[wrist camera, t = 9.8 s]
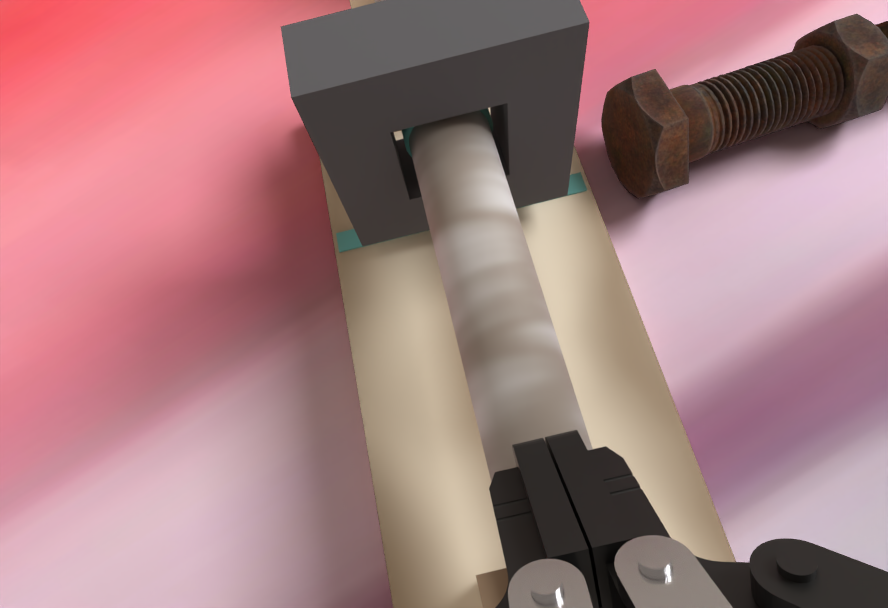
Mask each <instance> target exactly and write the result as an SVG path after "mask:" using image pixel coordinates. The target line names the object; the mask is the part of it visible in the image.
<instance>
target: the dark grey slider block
mask: <svg viewBox="0 0 888 608" xmlns="http://www.w3.org/2000/svg"><path fill="white" fill-rule="evenodd" d="M588 29H589V20H588V18H587V16H586V13H585V11H584V9H583V7H582V5H581V2H580V0H384V1H380V2H376V3H372V4H368V5H364V6H360V7H356V8H352V9H348V10H344V11H340V12H336V13H333V14H329V15H325V16H321V17H317V18H313V19H309V20H305V21H301V22H297V23H293V24H289V25H285V26H282V27H281V31H282V37H283V44H284V51H285V58H286V65H287V72H288V78H289V85H290V92H291V98H292V100H293V102H294V104H295V106H296V108H297V110H298V113H299V115H300V117H301V119H302V121H303V123H304V125H305V127H306V129H307V131H308V133H309V136H310V138H311V140H312V142H313V144H314V146H315V148H316V150H317V152H318V154H319V156H320V159H321V161H322V163H323V165H324V167H325V169H326V171H327V173H328V175H329V177H330V179H331V182H332V184H333V186H334V188H335V190H336V192H337V194H338V196H339V198H340V200H341V202H342V204H343V207H344V209H345V211H346V213H347V215H348V217H349V219H350V221H351V223H352V225H353V227H354V230H355V232H356V234H357V236H358V238H359V240H360V242H361V244H362V246H367V245H371V244H375V243H379V242H383V241H387V240H391V239H395V238H399V237H403V236H407V235H411V234H415V233H419V232H423V231H427V230H430V228H429V224H428V220H427V216H426V212H425V208H424V204H423V200H422V195H421V191H420V187H419V183H418V179H417V175H416V171H415V167H414V163H413V159H412V157H411V156H410V155H409V153H408V152H407V150H406V147H405V143H404V139H400V140H396V139H395V135H394V131H398V130H402V129H406V128H410V127H414V126H418V125H422V124H426V123H430V122H434V121H438V120H442V119H446V118H450V117H454V116H458V115H462V114H466V113H470V112H474V111H478V110H482V109H486V108H490V114H491V118H492V122H493V131H492V135H493V138H494V142H495V145H496V148H497V151H498V154H499V157H500V160H501V163H502V167H503V170H504V173H505V176H506V179H507V182H508V185H509V188H510V192H511V195H512V198H513V201H514V204H515V207H516V208H520V207H524V206H528V205H532V204H536V203H540V202H544V201H548V200H552V199H556V198H560V197H564V196H567V195H568V188H569V180H570V172H571V164H572V156H573V148H574V140H575V132H576V124H577V116H578V108H579V100H580V92H581V84H582V77H583V69H584V61H585V53H586V45H587V37H588Z"/></svg>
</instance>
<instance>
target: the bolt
mask: <svg viewBox="0 0 888 608" xmlns="http://www.w3.org/2000/svg"><path fill="white" fill-rule="evenodd" d="M887 97H888V21H886V22H883V23H880V24H877V25H874V24H873V23H872V22H871V21H869V20H867V19H865V18H863V17H862V16H860V15H858V14H854V15H851V16H848V17H845V18H842V19H839V20H836V21H833V22H831V23H829V24H827V25H825V26H822V27H820V28H818V29H816V30H814V31H812V32H810V33H808V34H807V35H805V36H803V37H802V38H800V39H799V40H798V41H797V42H796V44H795V46H794V49H793V51H792V52H790V53H787V54H784V55H781V56H778V57H775V58H773V59H769V60H766V61H763V62H760V63H756V64H754V65H750V66H747V67H745V68H742V69H739V70H736V71H733V72H730V73H726V74H724V75H719V76H718V77H713V78H711V79H706V80H704V81H702V82H698V83H695V84H692V85H682V86H679V87H676V88H673V89H670V90H669V89H668V87H667V86H666V84H665V83H664V81H663V80H662V78H661V77H660V75H659V74H658V72H657V71H656V69H654V70H651V71H648V72H645V73H642V74H639V75H636V76H633V77H630V78H628V79H626V80H625V81H623V82H621V83H619V84H617V85H616V86H614V87H613V88H612V89H611V90H609V91H608V92H607V95H606V98H605V102H604V107H603V113H602V132H603V136H604V141H605V145H606V149H607V153H608V156H609V159H610V162H611V165H612V167H613V169H614V171H615V172H616V174H617V176H618V178H619V180H620V182H621V183H622V184H623V186H624V187H625V188H626V189H627V190H628V191H629V192H631V193H632V194H633V195H635V196H636V197H637V198H638V199H639V198H643V197H647V196H650V195H654V194H657V193H660V192H663V191H667V190H670V189H673V188H676V187H679V186H682V185H685V184H688V183H689V163H690V162H693V161H696V160H699V159H701V158H703V157H705V156H706V155H707V154H709V153H713V152H715V151H718V150H722V149H725V148H728V147H730V146H734V145H736V144H740V143H742V142H746V141H749V140H751V139H755V138H757V137H761V136H763V135H767V134H770V133H773V132H775V131H779V130H782V129H784V128H788V127H790V126H793V125H796V124H800V123H802V122H806V121H809V122H810V123H812V124H813V125H815V126H816V127H818V128H820V129H822V128H826V127H829V126H832V125H835V124H839V123H842V122H845V121H848V120H851V119H854V118H857V117H860V116H863V115H866V114H869V113H872V112H875V111H878V110H881V109H882V107H883V105H884V103H885V101H886V99H887Z"/></svg>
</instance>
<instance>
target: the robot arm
mask: <svg viewBox="0 0 888 608" xmlns="http://www.w3.org/2000/svg"><path fill="white" fill-rule="evenodd" d="M512 448H513V453H514V458H515V463H516V467H515V468H510V469H506V470H502V471H497V472H495V473H494V476H493V479H492V482H491V485H490V487H489V491H490V495H491V500H492V505H493V509H494V514H495V518H496V523H497V527H498V532H499V536H500V541H501V545H502V550H503V555H504V559H505V564H506V568H507V573H508V586H507V590H506V593H505V595H504V597H503V598H502V600H501V601H500V603H499V604H498V605H497V606H496V607H495V608H888V572H887V571H884V570H881V569H879V568H876V567H873V566H871V565H868V564H865V563H863V562H860V561H857V560H855V559H852V558H850V557H847V556H844V555H842V554H839V553H836V552H834V551H831V550H828V549H826V548H823V547H820V546H818V545H815V544H812V543H809V542H806V541H802V540H797V539H775V540H771V541H767V542H765V543H763V544H761V545H760V546H758V547H757V548H756V549H755V550H754V551H753V553H752V555H751V557H750V563H745V562H721V561H712V560H707V559H703V558H700V557H697V556H695V555H693V553H692V552H691V551H690V550H689V549H688V548H687V547H686V546H685V545H683V544H682V543H680V542H678V541H676V540H674V539H672V538H671V537H670V535H669V534H668V532H667V530H666V529H665V527H664V525H663V524H662V522H661V520H660V519H659V517H658V515H657V514H656V512H655V510H654V508H653V507H652V505H651V503H650V502H649V500H648V498H647V497H646V495H645V493H644V492H643V490H642V489H641V488H640V485H639V483H638V482H637V480H636V478H635V477H634V476H633V474H632V472H631V470H630V468H629V467H628V465H627V463H626V462H625V460H624V458H623V457H621V456H620V455H618V454H617V453H615V452H614V451H612V450H611V449H609V448H608V447H606V446H605V447H601V448H596V449H592V450H587V448H586V446H585V444H584V442H583V440H582V438H581V436H580V434H579V432H578V431H577V430H573V431H568V432H564V433H560V434H555V435H551V436H547V437H545V440H544V438H539V439H534V440H530V441H526V442H521V443H517V444H513V445H512Z"/></svg>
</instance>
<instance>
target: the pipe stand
mask: <svg viewBox="0 0 888 608" xmlns="http://www.w3.org/2000/svg"><path fill="white" fill-rule="evenodd" d="M380 1H384V0H350V5H351V9H352V8H356V7H360V6H364V5H368V4H372V3H376V2H380ZM492 131H493V122H492V118H491V114H490V108H486V109H482V110H478V111H474V112H470V113H466V114H462V115H458V116H454V117H450V118H446V119H442V120H438V121H434V122H430V123H426V124H422V125H418V126H414V127H410V128H406V129H402V130H398V131H394V135H395V139H396V140H400V139H404V143H405V147H406V150H407V152H408V153H409V155H410V156H411V157H412V159H413V163H414V167H415V171H416V175H417V179H418V183H419V187H420V191H421V195H422V200H423V204H424V208H425V212H426V216H427V220H428V224H429V228H430V230H427V231H423V232H419V233H415V234H411V235H407V236H403V237H399V238H395V239H391V240H387V241H383V242H379V243H375V244H371V245H367V246H362V244H361V242H360V240H359V238H358V236H357V234H356V232H355V230H354V227H353V225H352V223H351V221H350V219H349V217H348V215H347V213H346V211H345V209H344V207H343V204H342V202H341V200H340V198H339V196H338V194H337V192H336V190H335V188H334V186H333V184H332V182H331V179H330V177H329V175H328V173H327V171H326V169H325V167H324V165H323V163H322V161H321V159H320V163H321V169H322V175H323V181H324V187H325V193H326V200H327V206H328V212H329V218H330V224H331V230H332V236H333V242H334V248H335V255H336V261H337V267H338V273H339V279H340V285H341V291H342V297H343V304H344V310H345V316H346V322H347V328H348V334H349V340H350V346H351V352H352V359H353V365H354V371H355V377H356V383H357V389H358V395H359V401H360V408H361V414H362V420H363V426H364V432H365V438H366V444H367V450H368V456H369V463H370V469H371V475H372V481H373V487H374V493H375V499H376V505H377V512H378V518H379V524H380V530H381V536H382V542H383V548H384V554H385V561H386V567H387V573H388V579H389V585H390V591H391V597H392V603H393V608H495V607H496V606H497V605H498V604H499V603H500V601H501V600H502V598H503V597H504V595H505V593H506V590H507V586H508V573H507V568H506V564H505V559H504V555H503V550H502V545H501V541H500V536H499V532H498V527H497V523H496V518H495V514H494V509H493V505H492V500H491V495H490V491H489V487H490V485H491V482H492V479H493V476H494V473H495V472H497V471H502V470H506V469H510V468H515V467H516V463H515V458H514V453H513V448H512V445H513V444H517V443H521V442H526V441H530V440H534V439H539V438H544V440H545V437H547V436H551V435H555V434H560V433H564V432H568V431H573V430H577V431H578V432H579V434H580V436H581V438H582V440H583V442H584V444H585V446H586V448H587V450H592V449H596V448H601V447H605V446H606V447H608V448H609V449H611V450H612V451H614V452H615V453H617V454H618V455H620V456H621V457H623V458H624V460H625V462H626V463H627V465H628V467H629V468H630V470H631V472H632V474H633V476H634V477H635V478H636V480H637V482H638V483H639V485H640V488H641V489H642V490H643V492H644V493H645V495H646V497H647V498H648V500H649V502H650V503H651V505H652V507H653V508H654V510H655V512H656V514H657V515H658V517H659V519H660V520H661V522H662V524H663V525H664V527H665V529H666V530H667V532H668V534H669V535H670V537H671V538H672V539H674V540H676V541H678V542H680V543H682V544H683V545H685V546H686V547H687V548H688V549H689V550H690V551H691V552H692V553H693V555H695V556H697V557H700V558H703V559H707V560H712V561H721V562H736V561H735V558H734V555H733V553H732V550H731V548H730V545H729V543H728V540H727V537H726V535H725V532H724V530H723V527H722V525H721V522H720V519H719V517H718V514H717V512H716V509H715V507H714V504H713V501H712V499H711V496H710V494H709V491H708V489H707V486H706V483H705V481H704V478H703V476H702V473H701V471H700V468H699V465H698V463H697V460H696V458H695V455H694V453H693V450H692V447H691V445H690V442H689V440H688V437H687V435H686V432H685V429H684V427H683V424H682V422H681V419H680V417H679V414H678V411H677V409H676V406H675V404H674V401H673V399H672V396H671V393H670V391H669V388H668V386H667V383H666V381H665V378H664V375H663V373H662V370H661V368H660V365H659V363H658V360H657V357H656V355H655V352H654V350H653V347H652V345H651V342H650V339H649V337H648V334H647V332H646V329H645V327H644V324H643V321H642V319H641V316H640V314H639V311H638V309H637V306H636V303H635V301H634V298H633V296H632V293H631V291H630V288H629V285H628V283H627V280H626V278H625V275H624V273H623V270H622V267H621V265H620V262H619V260H618V257H617V255H616V252H615V249H614V247H613V244H612V242H611V239H610V237H609V234H608V231H607V229H606V226H605V224H604V221H603V219H602V216H601V213H600V211H599V208H598V206H597V203H596V201H595V198H594V195H593V193H592V190H591V188H590V185H589V183H588V180H587V177H586V175H585V172H584V170H583V167H582V165H581V162H580V159H579V157H578V154H577V152H576V149H575V147H574V148H573V156H572V164H571V172H570V180H569V188H568V195H567V196H564V197H560V198H556V199H552V200H548V201H544V202H540V203H536V204H532V205H528V206H524V207H520V208H516V207H515V204H514V201H513V198H512V195H511V192H510V188H509V185H508V182H507V179H506V176H505V173H504V170H503V167H502V163H501V160H500V157H499V154H498V151H497V148H496V145H495V142H494V138H493V135H492ZM319 157H320V156H319Z"/></svg>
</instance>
